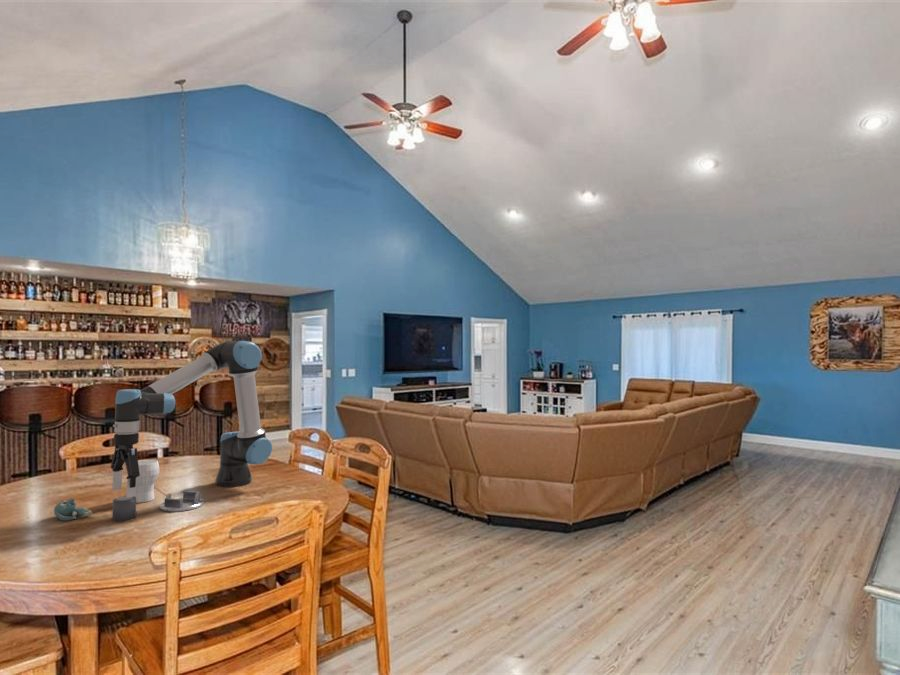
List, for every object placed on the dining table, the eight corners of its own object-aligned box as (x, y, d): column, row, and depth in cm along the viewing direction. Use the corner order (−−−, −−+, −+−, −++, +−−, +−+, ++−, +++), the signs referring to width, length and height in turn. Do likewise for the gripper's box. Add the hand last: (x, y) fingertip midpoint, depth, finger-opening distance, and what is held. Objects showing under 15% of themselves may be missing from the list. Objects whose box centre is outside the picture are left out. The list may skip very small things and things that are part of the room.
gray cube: (109, 518, 181) (109, 497, 181) (131, 514, 186) (131, 493, 186) (116, 523, 176) (117, 501, 176) (138, 518, 182) (139, 497, 182)
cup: (164, 497, 207) (165, 460, 207) (141, 505, 197) (142, 466, 197) (145, 495, 210) (146, 458, 210) (121, 502, 200) (122, 463, 200)
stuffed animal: (82, 506, 177) (47, 500, 177) (77, 527, 177) (42, 520, 176) (102, 497, 188) (69, 491, 187) (97, 517, 188) (64, 510, 187)
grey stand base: (153, 506, 196) (153, 495, 196) (193, 497, 207) (193, 487, 207) (170, 514, 186) (170, 503, 186) (211, 505, 198) (211, 494, 198)
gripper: (102, 430, 187) (99, 488, 186) (127, 438, 171) (124, 502, 170) (125, 428, 193) (122, 484, 192) (152, 435, 177) (149, 497, 176)
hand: (123, 493), depth 181 cm, fingers open, 13 cm apart
